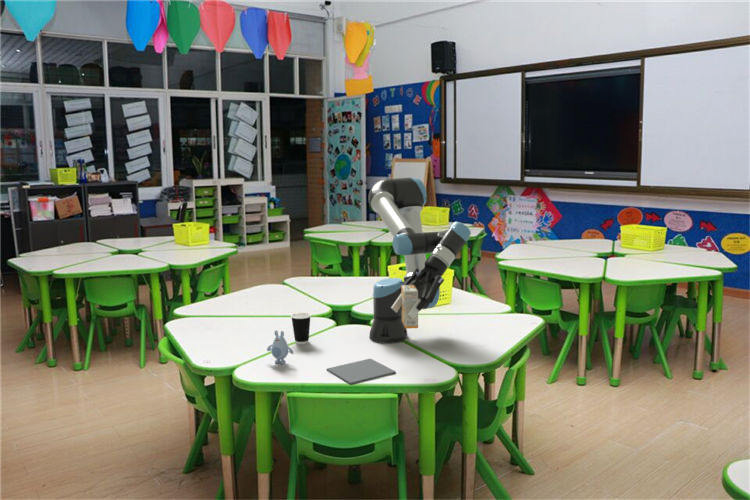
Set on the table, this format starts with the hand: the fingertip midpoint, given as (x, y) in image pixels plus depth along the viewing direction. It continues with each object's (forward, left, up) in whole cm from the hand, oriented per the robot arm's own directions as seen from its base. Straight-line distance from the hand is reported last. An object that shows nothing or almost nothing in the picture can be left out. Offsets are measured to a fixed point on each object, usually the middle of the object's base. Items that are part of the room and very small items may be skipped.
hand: (402, 313), depth 218 cm
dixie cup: (+14, -49, -21) cm, 55 cm away
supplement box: (-3, 0, -5) cm, 6 cm away
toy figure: (+31, -32, -21) cm, 49 cm away
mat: (+12, -8, -20) cm, 25 cm away
